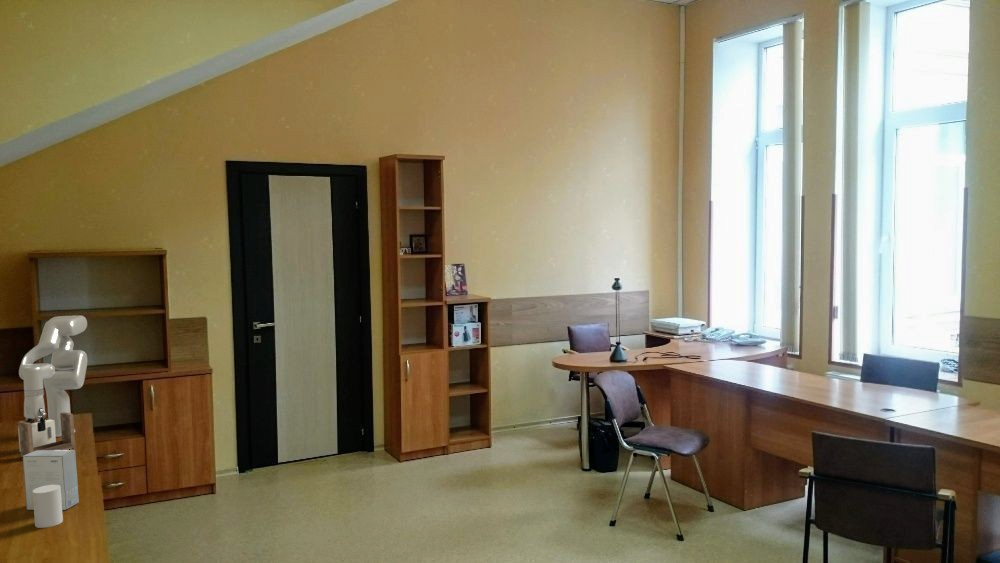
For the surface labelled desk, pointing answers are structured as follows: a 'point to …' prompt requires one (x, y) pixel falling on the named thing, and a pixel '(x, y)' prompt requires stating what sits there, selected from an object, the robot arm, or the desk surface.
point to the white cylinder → (47, 506)
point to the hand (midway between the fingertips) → (36, 429)
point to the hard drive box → (51, 474)
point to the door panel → (43, 434)
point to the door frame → (65, 444)
